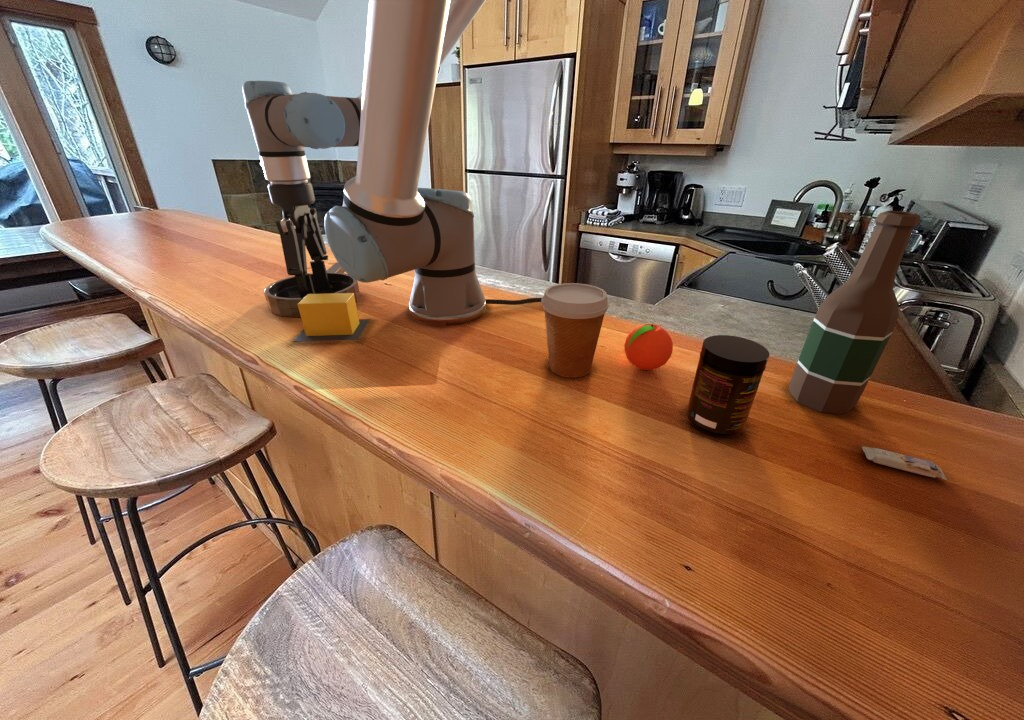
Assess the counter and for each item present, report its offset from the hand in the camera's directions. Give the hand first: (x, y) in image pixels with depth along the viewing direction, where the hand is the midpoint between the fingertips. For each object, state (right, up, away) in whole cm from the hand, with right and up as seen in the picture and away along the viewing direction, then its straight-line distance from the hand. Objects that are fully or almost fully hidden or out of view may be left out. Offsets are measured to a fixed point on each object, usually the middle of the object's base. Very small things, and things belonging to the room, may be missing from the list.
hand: (317, 297), depth 88 cm
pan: (0, -2, -1) cm, 2 cm away
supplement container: (+67, -21, -37) cm, 79 cm away
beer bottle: (+83, -19, -32) cm, 91 cm away
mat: (+9, -8, -13) cm, 18 cm away
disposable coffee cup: (+51, -15, -25) cm, 58 cm away
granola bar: (+83, -25, -44) cm, 97 cm away
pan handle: (-1, +7, +11) cm, 13 cm away
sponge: (+9, -8, -13) cm, 18 cm away
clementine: (+62, -15, -25) cm, 68 cm away
